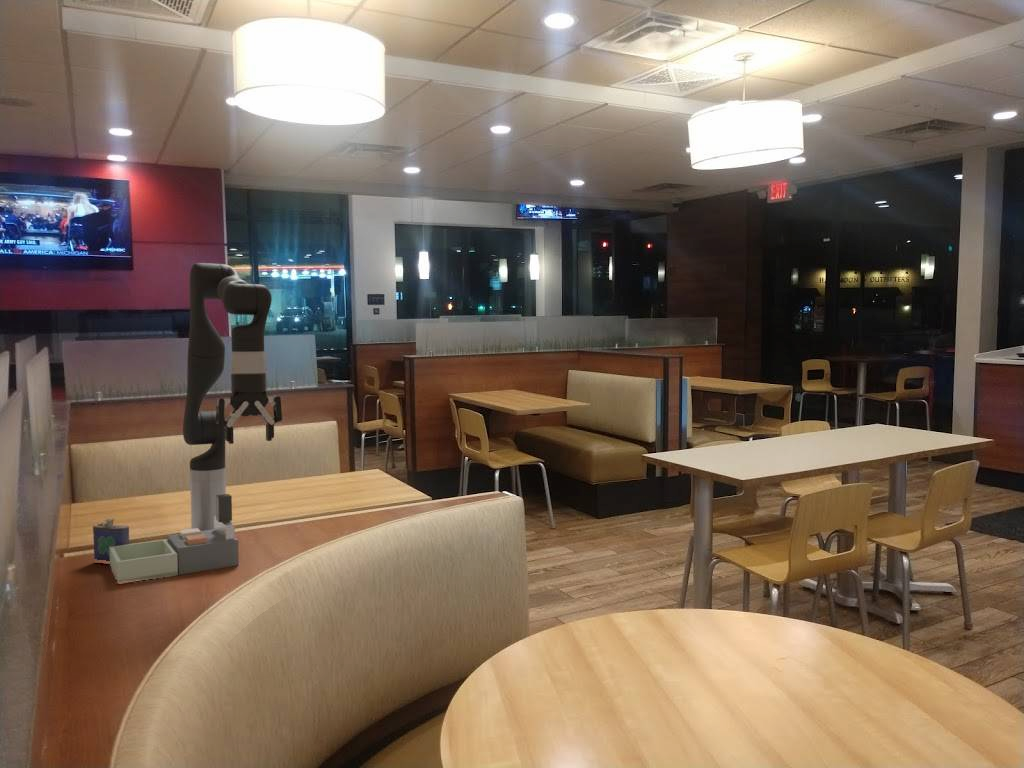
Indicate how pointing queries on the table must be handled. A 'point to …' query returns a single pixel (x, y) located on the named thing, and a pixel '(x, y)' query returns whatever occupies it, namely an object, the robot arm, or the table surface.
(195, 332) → the robot arm
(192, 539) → the tile terracotta
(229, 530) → the scraper
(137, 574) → the box
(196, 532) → the tile cream
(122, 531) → the flask
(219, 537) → the grey slotted block
